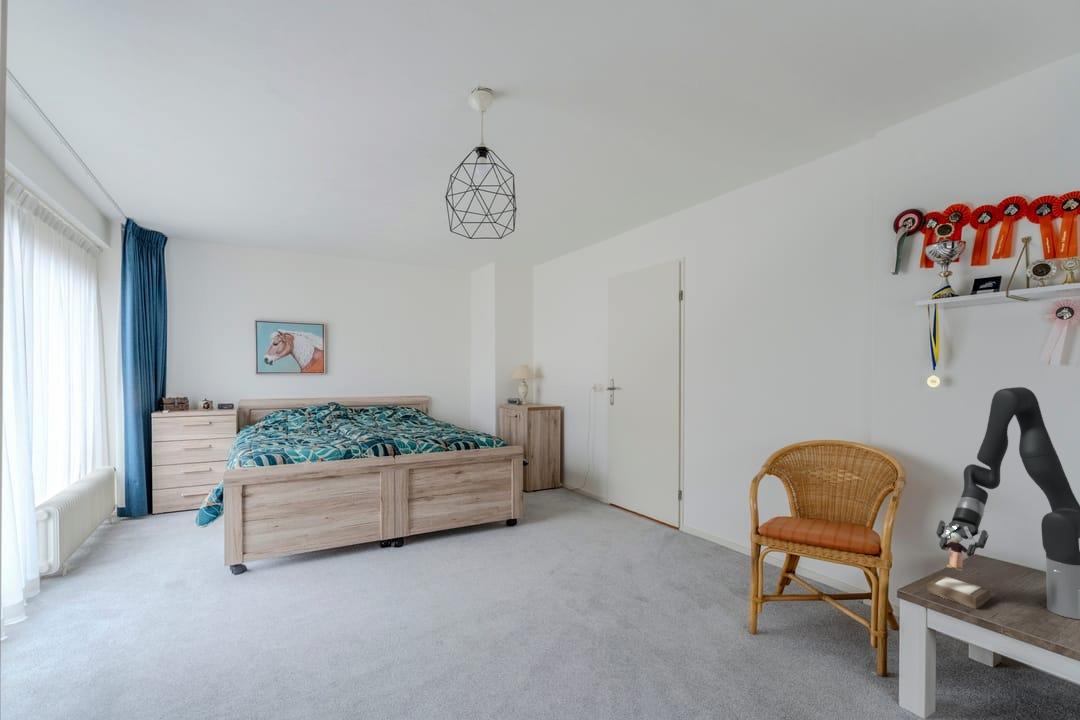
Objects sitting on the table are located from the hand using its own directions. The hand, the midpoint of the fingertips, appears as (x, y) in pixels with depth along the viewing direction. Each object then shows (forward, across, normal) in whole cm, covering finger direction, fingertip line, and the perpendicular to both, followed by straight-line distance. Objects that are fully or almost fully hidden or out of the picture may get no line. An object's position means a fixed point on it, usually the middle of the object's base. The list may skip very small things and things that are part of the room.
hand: (955, 551), depth 181 cm
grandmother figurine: (+4, 0, +6) cm, 7 cm away
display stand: (+10, 0, +12) cm, 16 cm away
